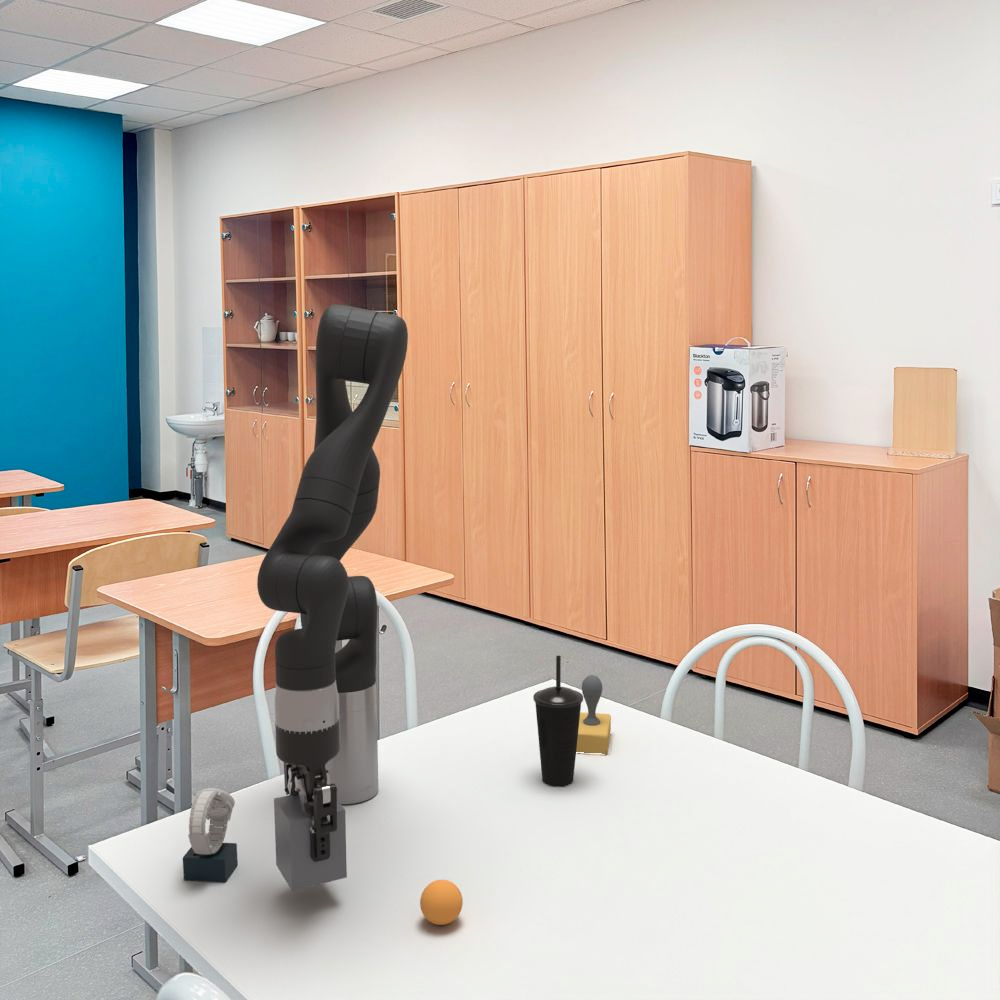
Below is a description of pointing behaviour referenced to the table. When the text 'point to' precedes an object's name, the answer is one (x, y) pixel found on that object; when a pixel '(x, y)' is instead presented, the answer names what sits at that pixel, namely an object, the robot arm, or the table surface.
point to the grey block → (306, 846)
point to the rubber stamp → (593, 720)
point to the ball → (441, 902)
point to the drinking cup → (558, 730)
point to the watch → (210, 838)
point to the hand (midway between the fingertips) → (311, 845)
